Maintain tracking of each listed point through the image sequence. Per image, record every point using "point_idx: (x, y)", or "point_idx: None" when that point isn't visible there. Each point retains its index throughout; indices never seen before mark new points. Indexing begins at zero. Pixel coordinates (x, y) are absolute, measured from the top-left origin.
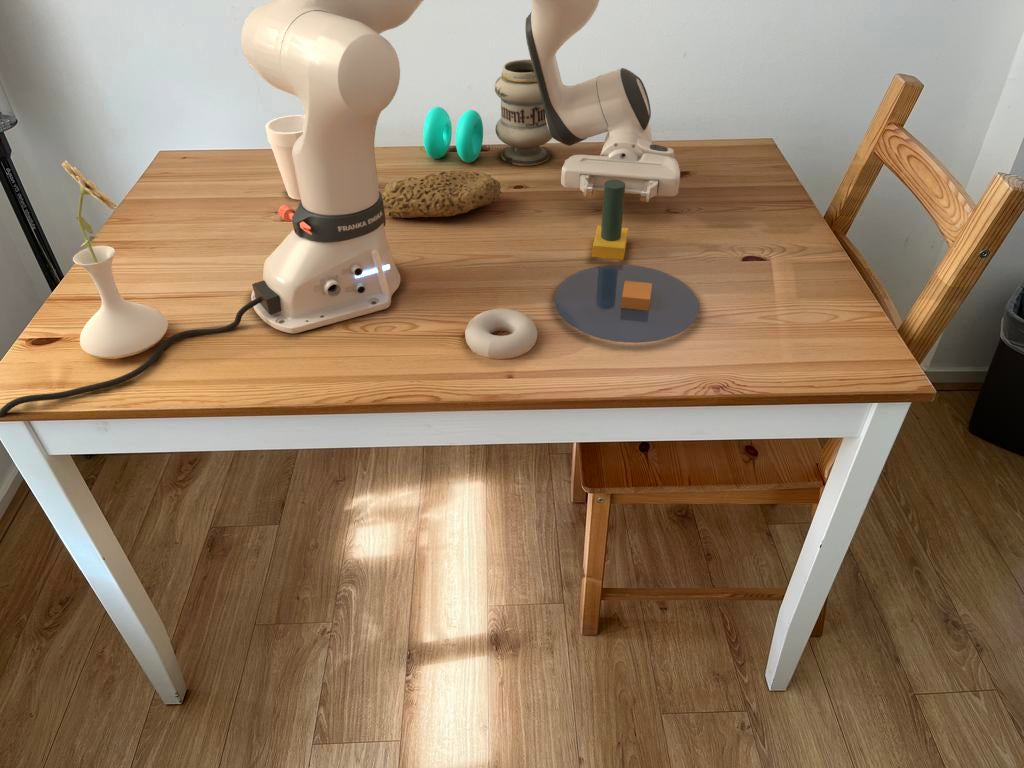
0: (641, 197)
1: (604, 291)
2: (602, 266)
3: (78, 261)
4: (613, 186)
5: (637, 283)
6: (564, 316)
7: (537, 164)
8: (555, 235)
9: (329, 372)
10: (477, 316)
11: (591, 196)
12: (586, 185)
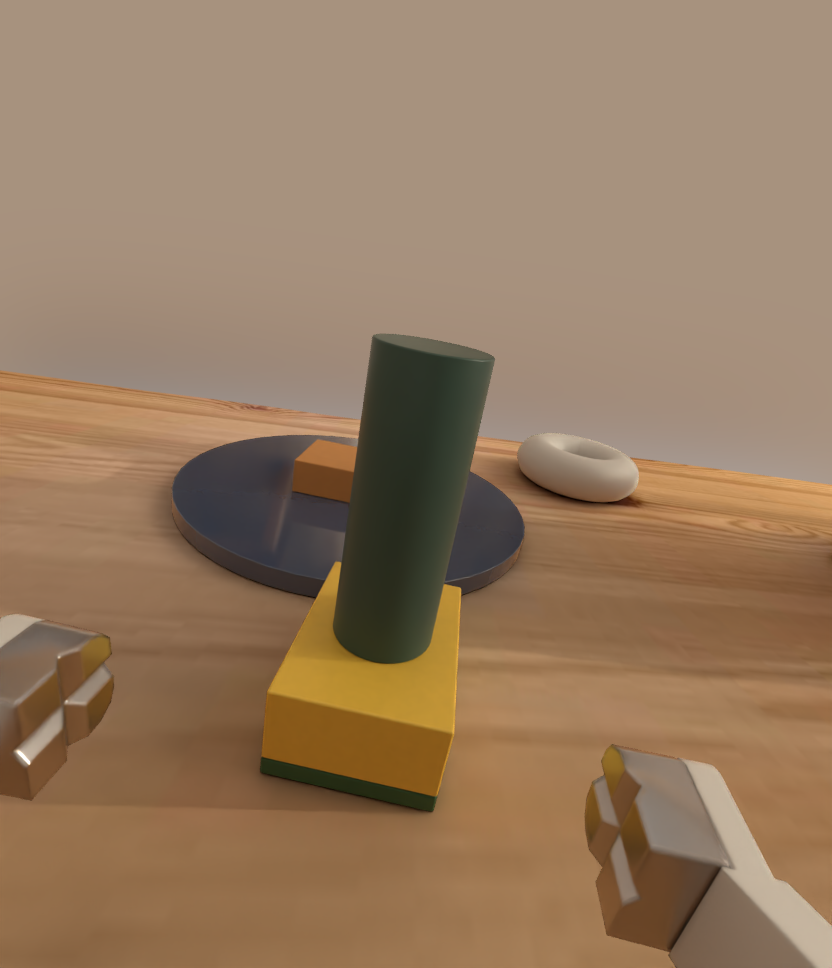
0: (101, 666)
1: None
2: None
3: None
4: (441, 343)
5: (332, 463)
6: (485, 482)
7: None
8: None
9: (755, 489)
10: (629, 461)
11: (590, 802)
12: (710, 795)
